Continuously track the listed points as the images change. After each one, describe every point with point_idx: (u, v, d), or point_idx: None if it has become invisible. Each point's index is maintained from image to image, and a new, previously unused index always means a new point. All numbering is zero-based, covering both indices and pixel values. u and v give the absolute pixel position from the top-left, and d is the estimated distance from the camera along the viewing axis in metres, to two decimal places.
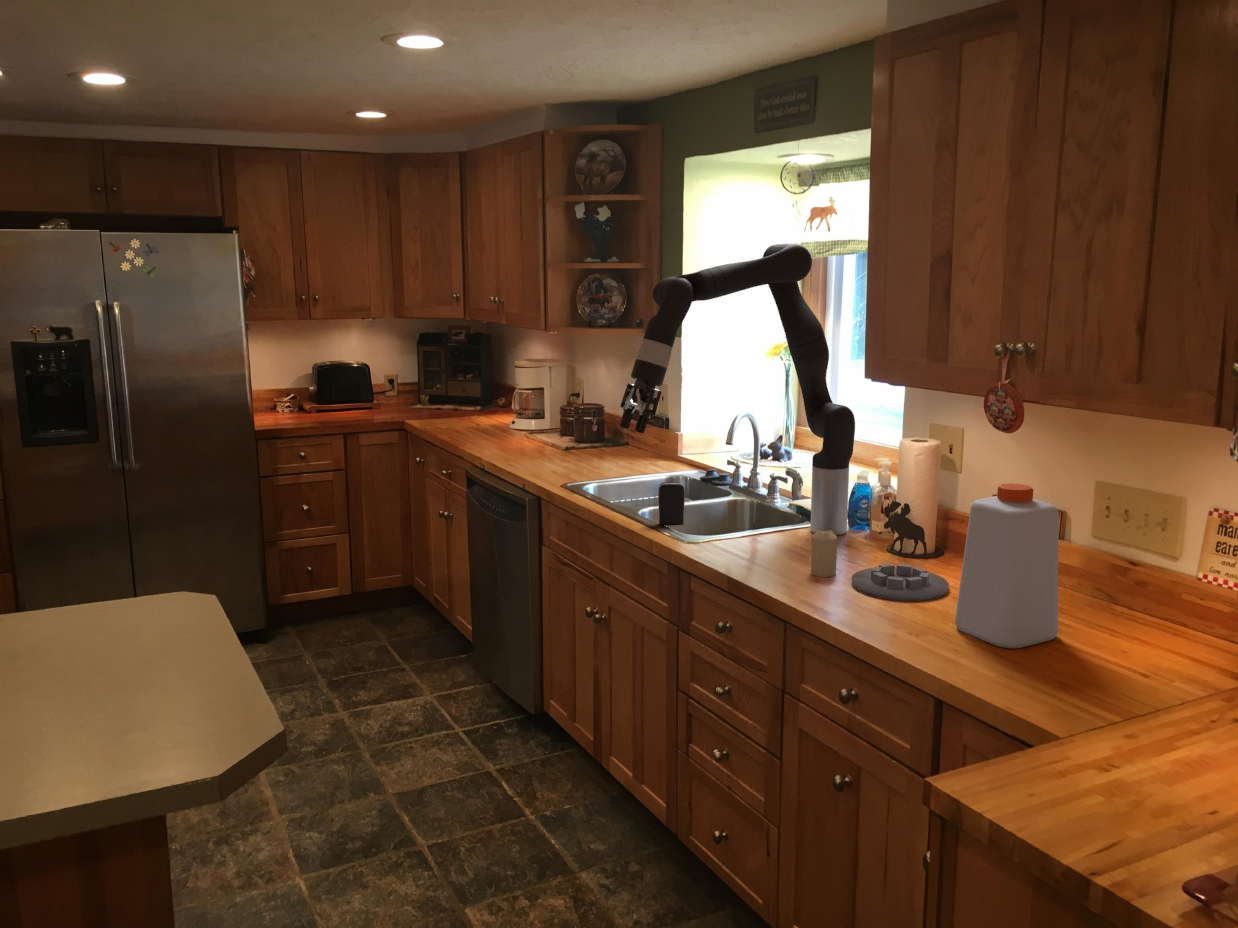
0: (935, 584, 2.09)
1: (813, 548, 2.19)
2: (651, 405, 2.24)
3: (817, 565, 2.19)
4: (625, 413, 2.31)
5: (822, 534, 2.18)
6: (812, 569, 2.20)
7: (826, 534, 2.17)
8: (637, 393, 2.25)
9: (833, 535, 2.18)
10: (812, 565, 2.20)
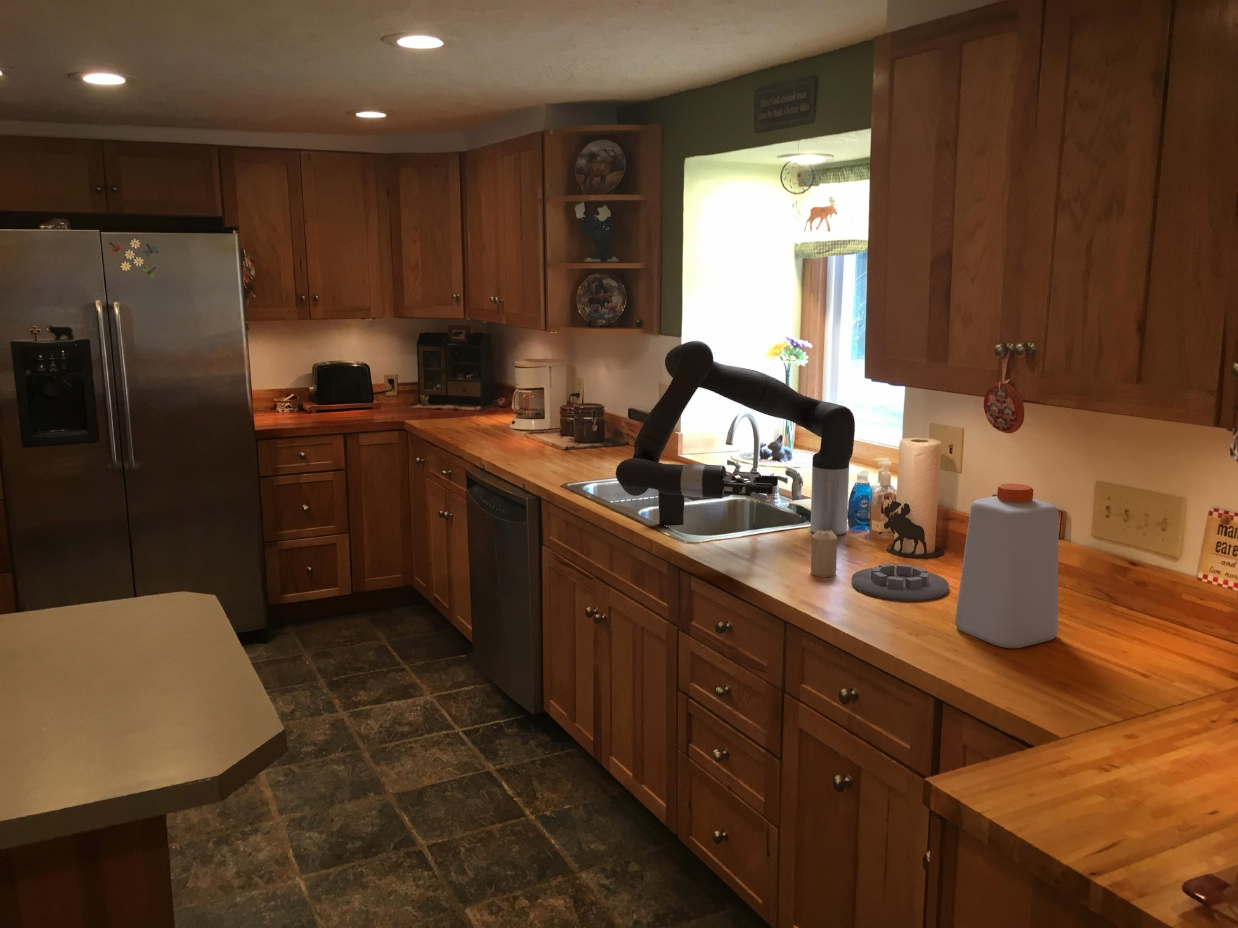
0: (935, 584, 2.09)
1: (813, 548, 2.19)
2: (742, 481, 2.18)
3: (817, 565, 2.19)
4: None
5: (822, 534, 2.18)
6: (812, 569, 2.20)
7: (826, 534, 2.17)
8: None
9: (833, 535, 2.18)
10: (812, 565, 2.20)
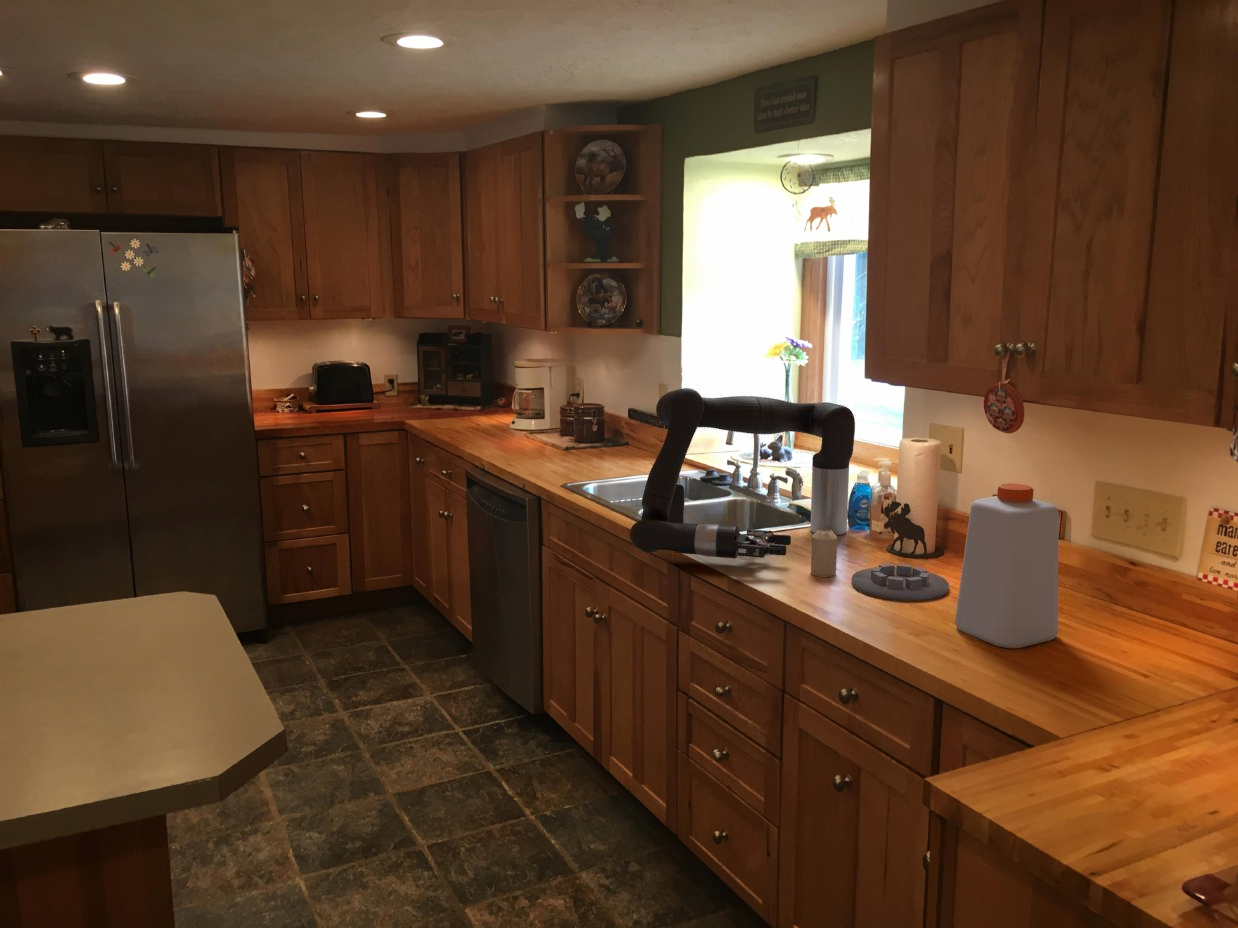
0: (935, 584, 2.09)
1: (813, 548, 2.19)
2: (756, 542, 2.20)
3: (817, 565, 2.19)
4: (775, 543, 2.27)
5: (822, 534, 2.18)
6: (812, 569, 2.20)
7: (826, 534, 2.17)
8: None
9: (833, 535, 2.18)
10: (812, 565, 2.20)
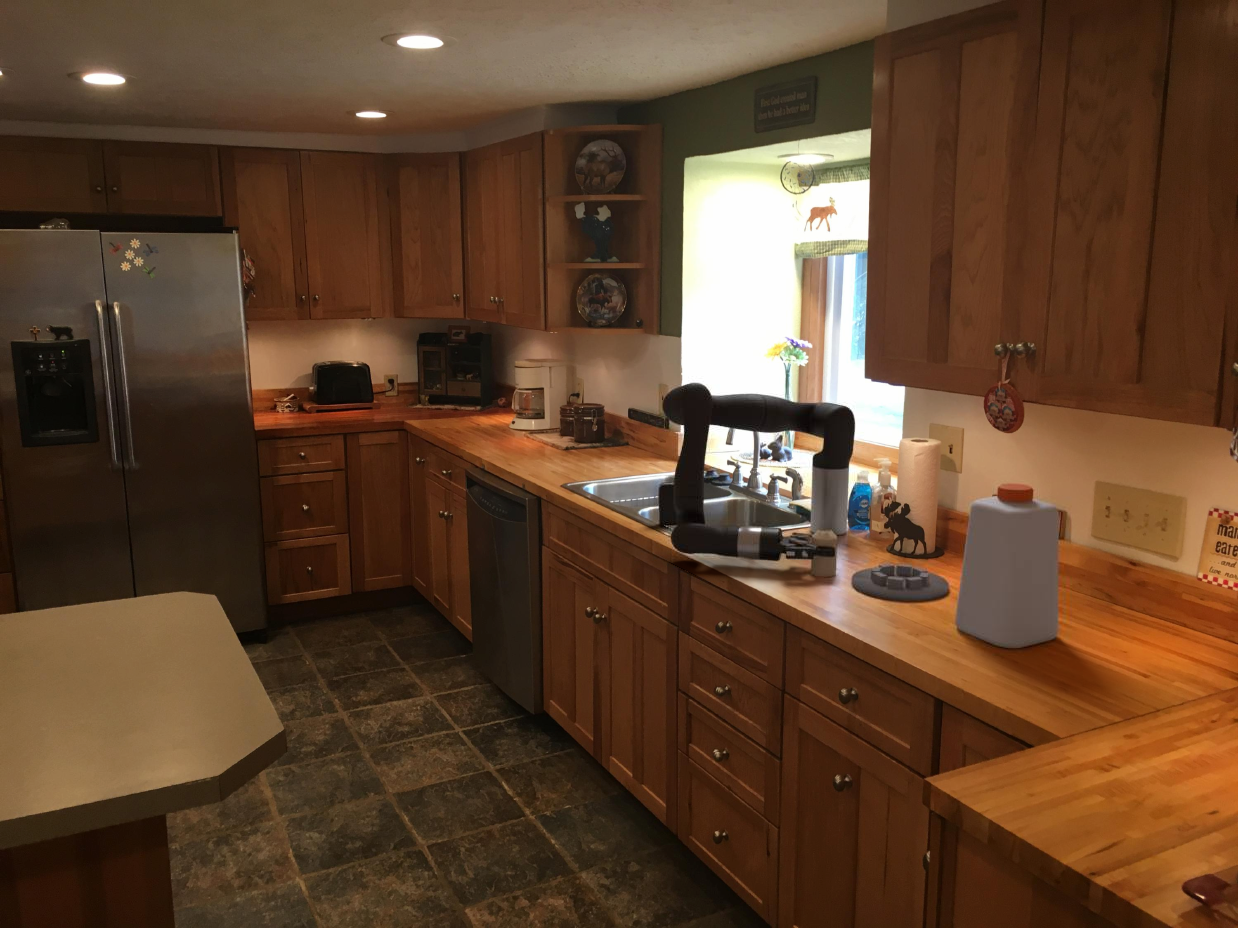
0: (935, 584, 2.09)
1: None
2: (803, 544, 2.18)
3: (817, 565, 2.19)
4: None
5: (822, 534, 2.18)
6: (812, 569, 2.20)
7: (826, 534, 2.17)
8: None
9: (833, 535, 2.18)
10: (812, 565, 2.20)
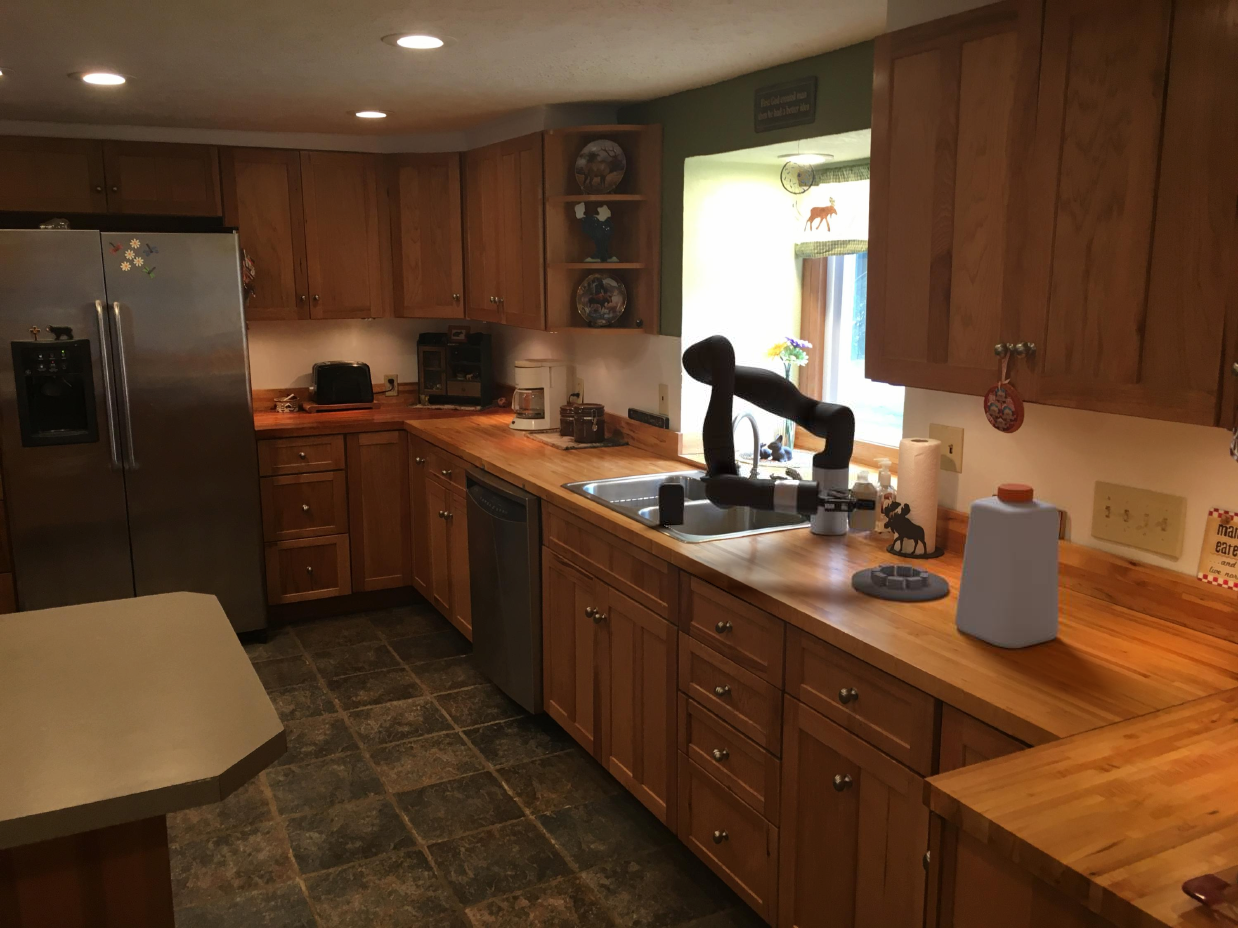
0: (935, 584, 2.09)
1: None
2: (842, 497, 2.11)
3: (856, 519, 2.12)
4: None
5: (862, 487, 2.11)
6: (851, 523, 2.13)
7: (866, 487, 2.10)
8: None
9: (873, 488, 2.11)
10: (851, 519, 2.13)
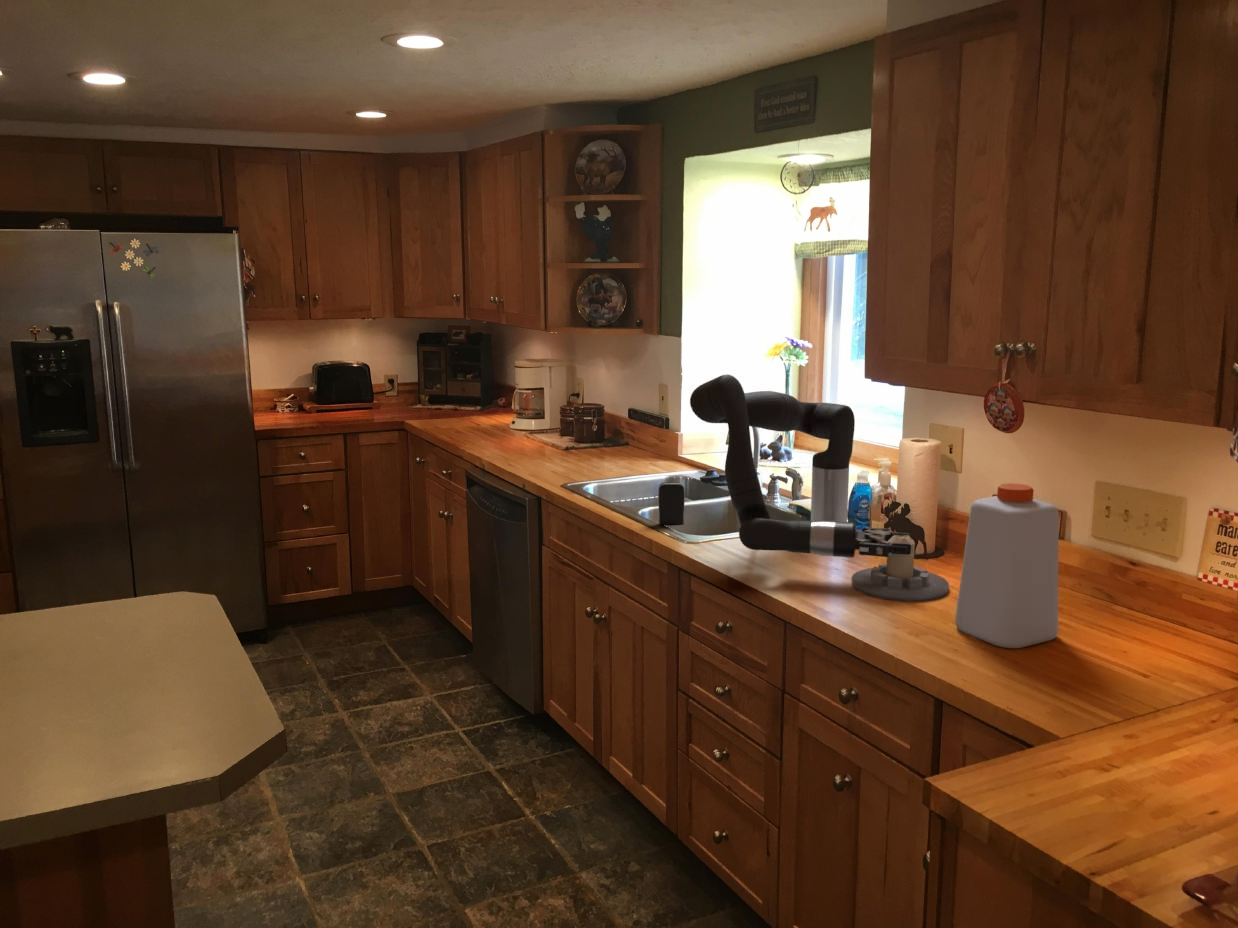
0: (935, 584, 2.09)
1: None
2: (877, 540, 2.08)
3: (893, 572, 2.09)
4: None
5: (899, 539, 2.08)
6: (888, 576, 2.11)
7: (904, 540, 2.08)
8: None
9: (911, 541, 2.09)
10: (888, 572, 2.11)
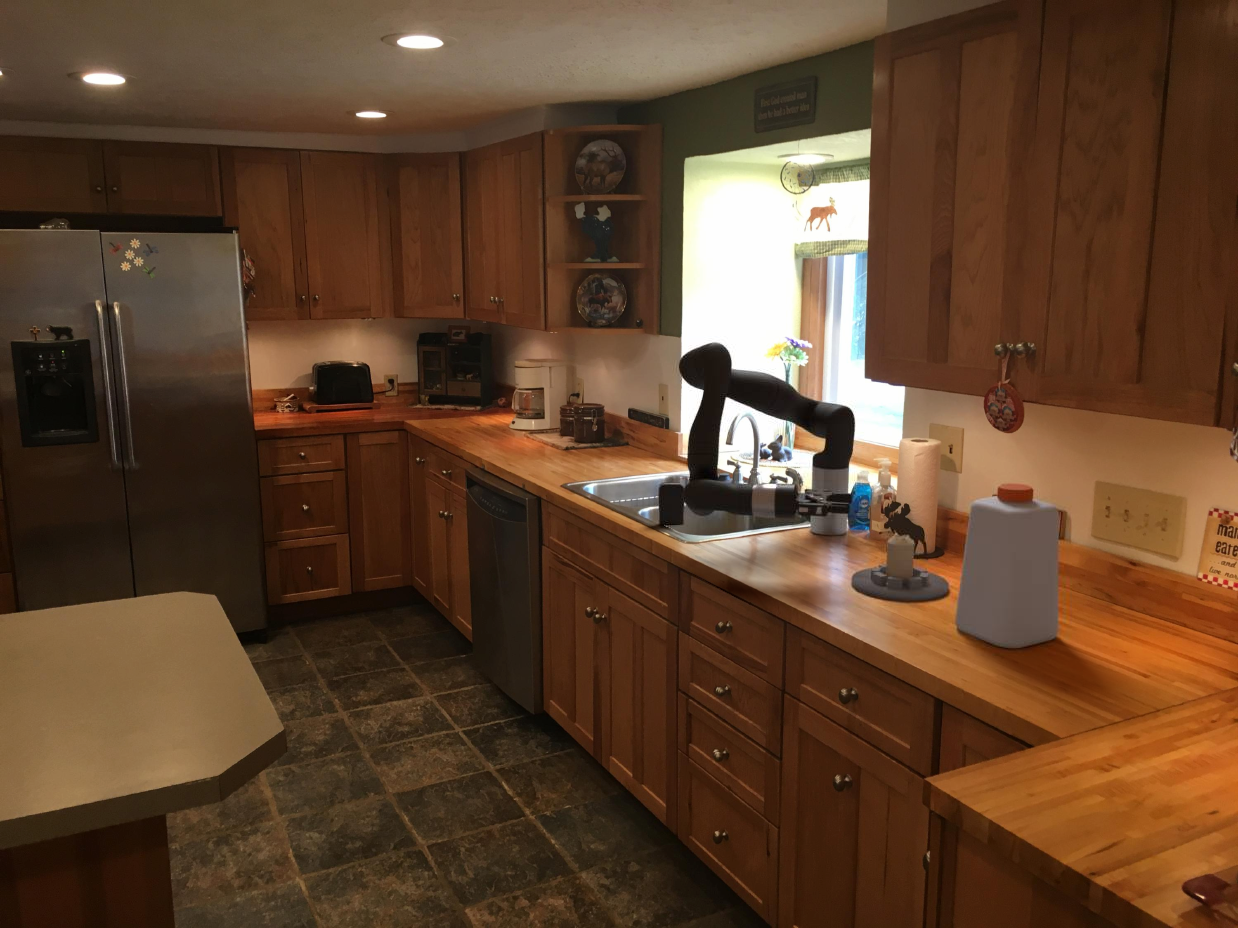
0: (935, 584, 2.09)
1: (889, 554, 2.10)
2: (817, 500, 2.10)
3: (893, 572, 2.09)
4: (836, 502, 2.17)
5: (899, 539, 2.08)
6: (888, 576, 2.11)
7: (903, 539, 2.08)
8: None
9: (910, 540, 2.09)
10: (888, 572, 2.11)
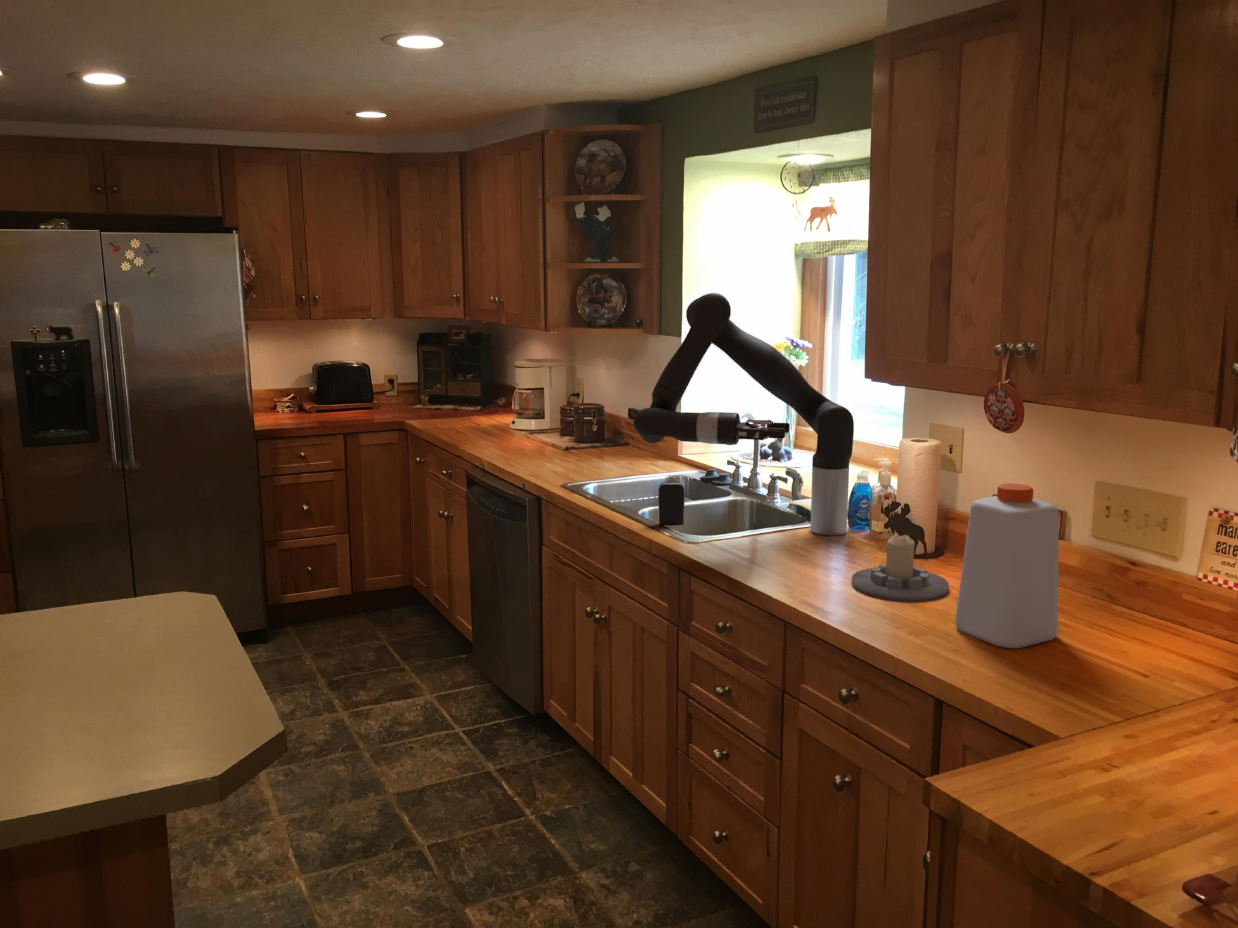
0: (935, 584, 2.09)
1: (889, 554, 2.10)
2: (756, 426, 2.28)
3: (893, 572, 2.09)
4: None
5: (899, 539, 2.08)
6: (888, 576, 2.11)
7: (903, 539, 2.08)
8: None
9: (910, 540, 2.09)
10: (888, 572, 2.11)
